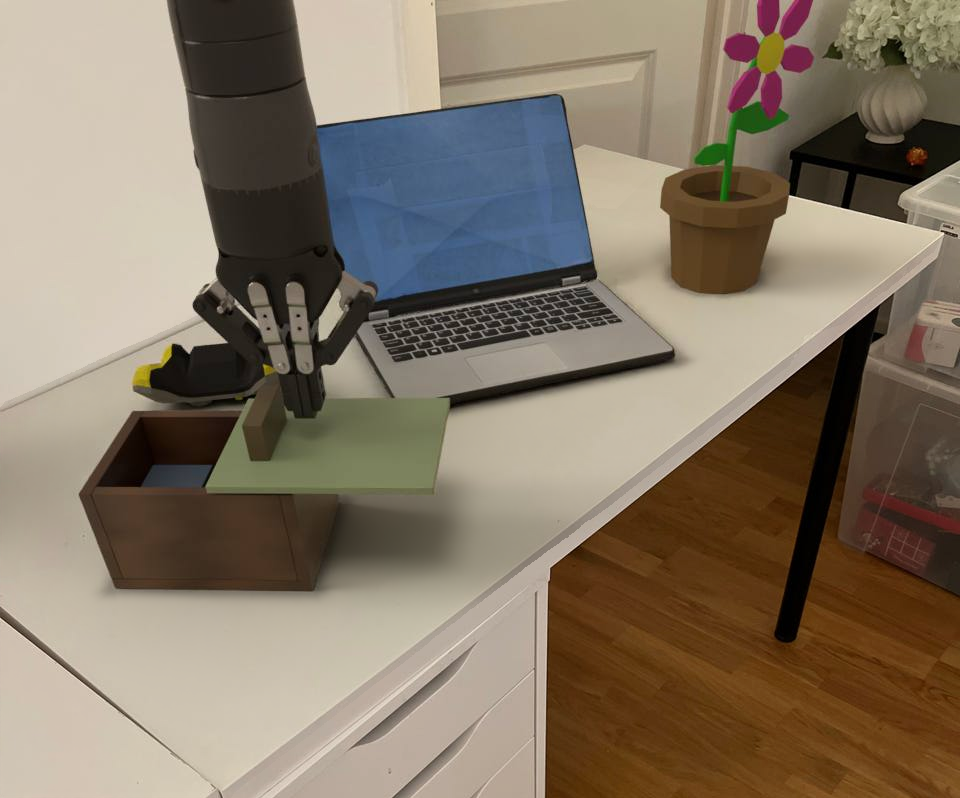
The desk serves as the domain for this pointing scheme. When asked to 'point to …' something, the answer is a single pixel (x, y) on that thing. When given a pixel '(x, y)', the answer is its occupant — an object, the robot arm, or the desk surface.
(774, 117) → the flowerpot
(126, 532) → the storage box
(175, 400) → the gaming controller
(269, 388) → the cover
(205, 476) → the block
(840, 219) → the desk surface
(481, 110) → the laptop
